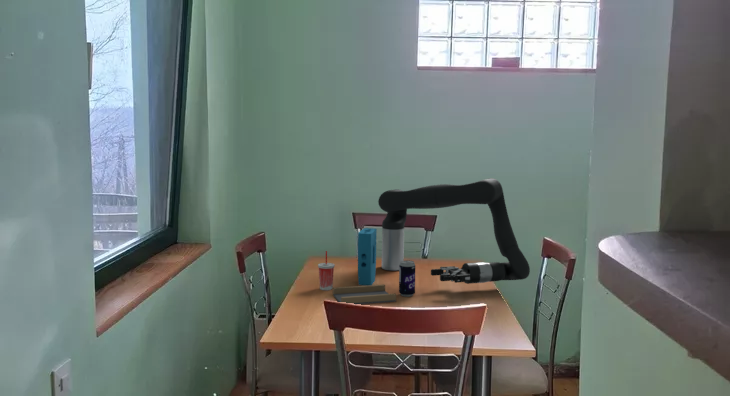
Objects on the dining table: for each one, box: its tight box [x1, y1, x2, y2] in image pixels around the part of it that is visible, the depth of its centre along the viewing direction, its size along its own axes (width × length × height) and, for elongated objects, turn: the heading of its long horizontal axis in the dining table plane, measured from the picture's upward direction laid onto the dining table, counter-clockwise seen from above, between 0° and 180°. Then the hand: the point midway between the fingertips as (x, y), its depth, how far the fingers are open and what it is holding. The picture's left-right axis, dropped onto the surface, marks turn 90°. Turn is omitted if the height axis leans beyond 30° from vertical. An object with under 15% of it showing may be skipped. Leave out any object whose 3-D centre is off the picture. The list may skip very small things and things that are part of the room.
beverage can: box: [398, 259, 416, 298], centre depth 216 cm, size 6×6×12 cm
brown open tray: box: [332, 284, 397, 305], centre depth 211 cm, size 13×19×3 cm
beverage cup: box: [317, 250, 335, 291], centre depth 223 cm, size 6×6×14 cm
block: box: [357, 227, 377, 286], centre depth 232 cm, size 12×5×20 cm, turn 168°
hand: (435, 275), depth 218 cm, fingers open, 8 cm apart
